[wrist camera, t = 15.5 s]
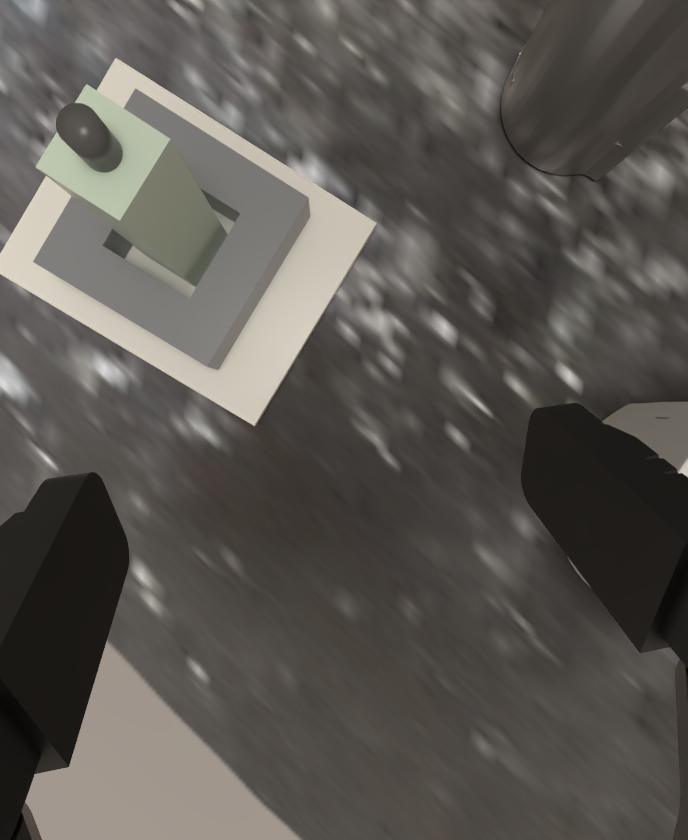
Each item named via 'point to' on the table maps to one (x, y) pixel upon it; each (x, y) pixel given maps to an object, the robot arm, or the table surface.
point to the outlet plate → (271, 314)
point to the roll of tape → (656, 431)
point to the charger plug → (133, 184)
